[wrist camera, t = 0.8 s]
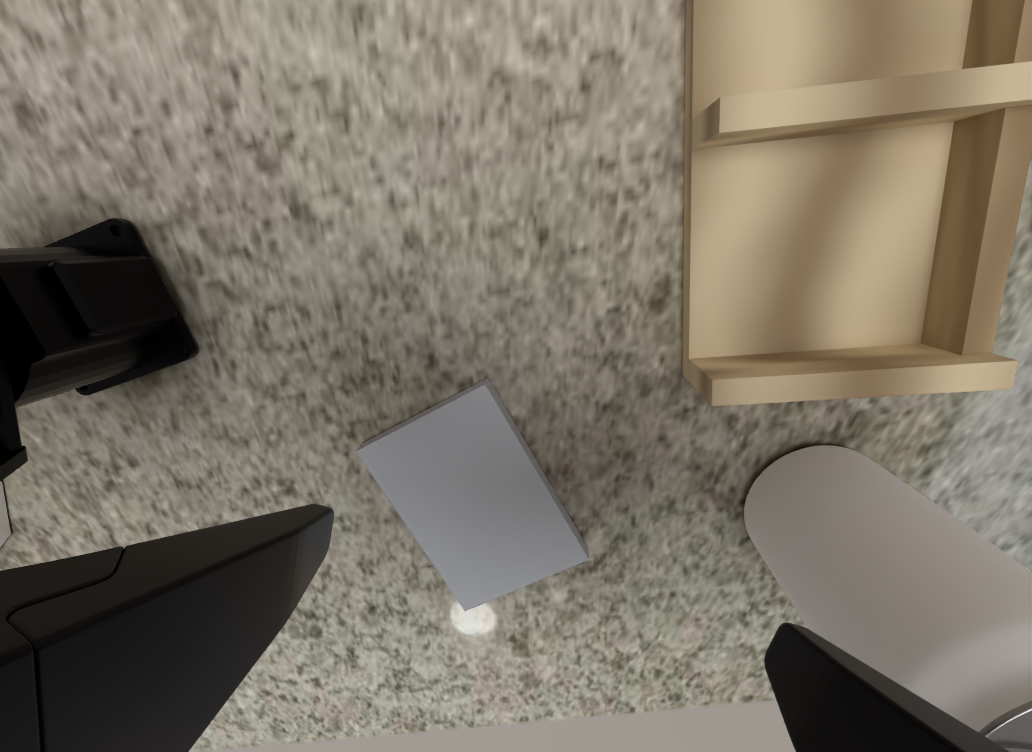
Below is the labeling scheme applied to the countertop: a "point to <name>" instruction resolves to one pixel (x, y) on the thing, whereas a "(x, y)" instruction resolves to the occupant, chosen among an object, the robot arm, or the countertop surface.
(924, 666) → the can
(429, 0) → the countertop surface
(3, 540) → the toilet paper
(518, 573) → the block
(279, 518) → the robot arm
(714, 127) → the rack
